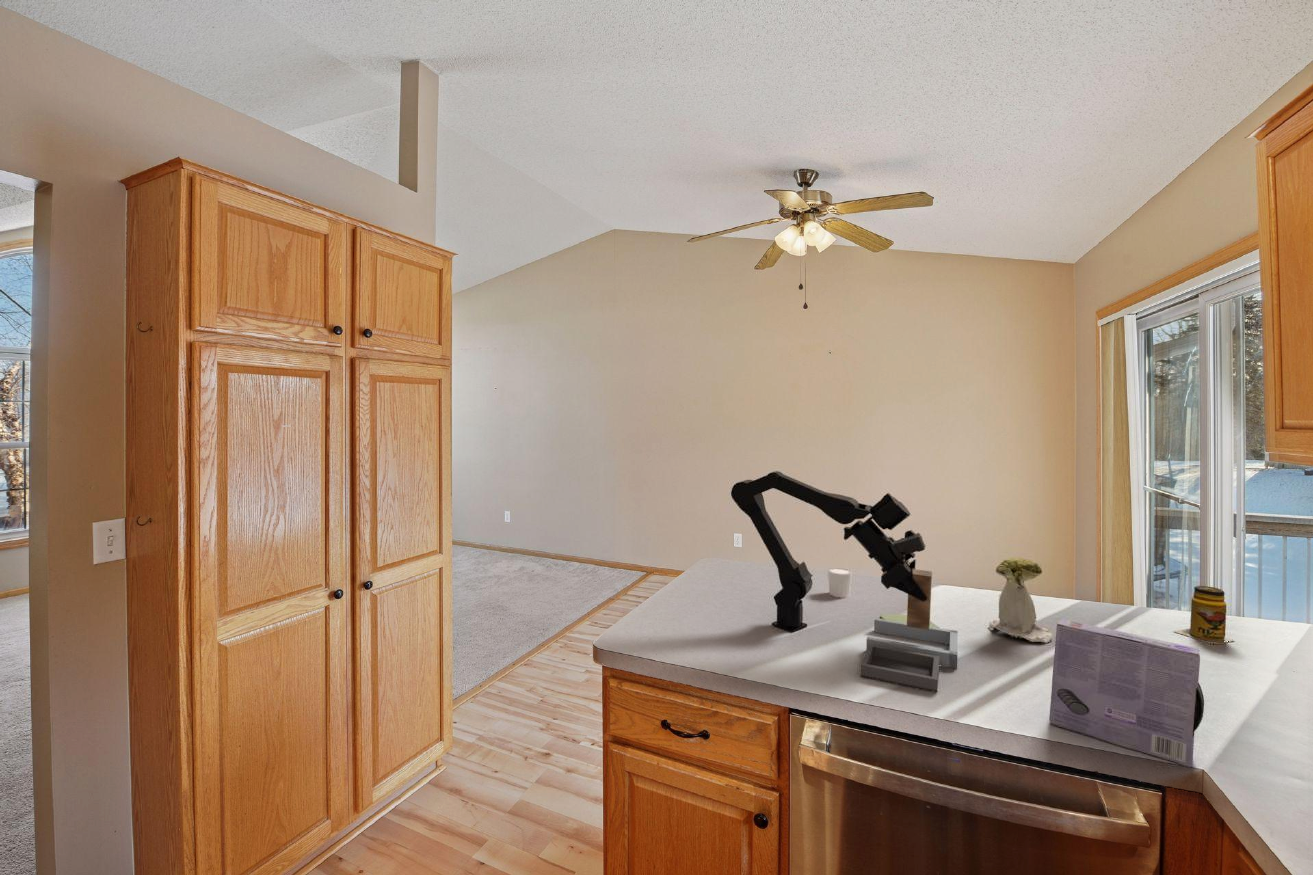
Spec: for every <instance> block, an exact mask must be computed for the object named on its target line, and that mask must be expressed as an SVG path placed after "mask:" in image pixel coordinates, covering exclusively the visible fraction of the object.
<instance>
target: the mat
mask: <svg viewBox="0 0 1313 875" xmlns="http://www.w3.org/2000/svg"><path fill="white" fill-rule="evenodd" d="M879 618H880V619H885V620H892V621H898V622H904V623H907V614H881V615H880V616H879ZM929 626H930V627H936V628H940V627H939V626H938V625H937V624H935V623H934V622H932V621H931V620H930V625H929Z"/></svg>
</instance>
